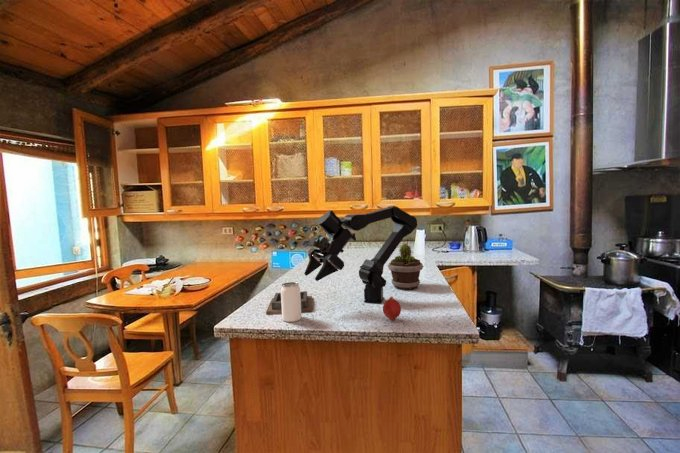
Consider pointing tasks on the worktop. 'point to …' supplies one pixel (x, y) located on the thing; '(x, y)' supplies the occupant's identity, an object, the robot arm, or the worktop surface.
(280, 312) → the socket
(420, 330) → the worktop surface
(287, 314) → the can
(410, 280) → the flowerpot
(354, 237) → the robot arm
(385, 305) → the onion
